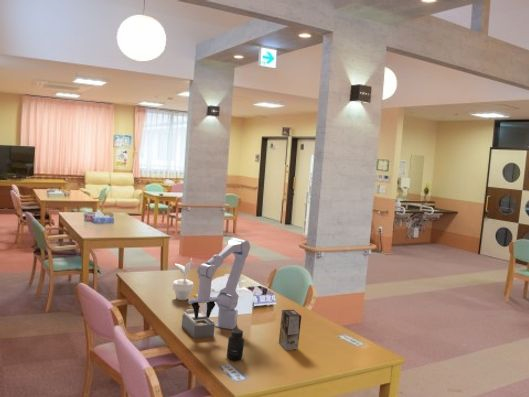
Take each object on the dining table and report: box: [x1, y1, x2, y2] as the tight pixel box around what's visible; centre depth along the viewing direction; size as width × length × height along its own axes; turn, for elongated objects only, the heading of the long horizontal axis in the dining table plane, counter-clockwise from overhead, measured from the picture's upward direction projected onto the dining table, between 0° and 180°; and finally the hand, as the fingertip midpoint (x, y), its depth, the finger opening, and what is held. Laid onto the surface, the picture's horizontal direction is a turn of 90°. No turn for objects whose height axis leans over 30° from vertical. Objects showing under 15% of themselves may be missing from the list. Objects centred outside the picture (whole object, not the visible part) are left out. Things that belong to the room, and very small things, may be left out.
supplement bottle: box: [226, 328, 245, 362], centre depth 208 cm, size 7×7×12 cm
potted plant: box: [172, 256, 195, 301], centre depth 282 cm, size 13×12×25 cm
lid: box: [185, 308, 205, 319], centre depth 238 cm, size 7×7×2 cm
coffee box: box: [278, 309, 302, 351], centre depth 227 cm, size 9×6×16 cm
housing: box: [181, 310, 216, 339], centre depth 235 cm, size 16×10×7 cm, turn 30°
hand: (202, 317), depth 231 cm, fingers open, 5 cm apart
